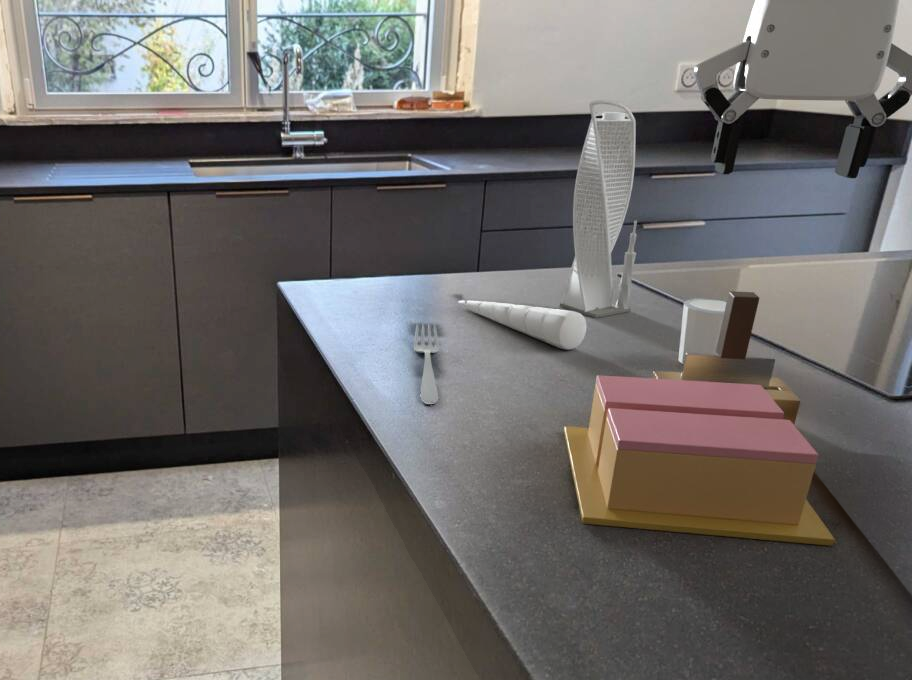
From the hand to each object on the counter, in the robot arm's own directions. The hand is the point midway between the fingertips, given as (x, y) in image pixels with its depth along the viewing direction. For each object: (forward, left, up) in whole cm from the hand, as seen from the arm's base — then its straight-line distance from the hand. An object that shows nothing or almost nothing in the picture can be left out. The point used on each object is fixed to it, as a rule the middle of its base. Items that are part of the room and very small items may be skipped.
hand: (783, 174), depth 70 cm
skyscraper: (+8, -43, -24) cm, 50 cm away
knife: (0, -2, -24) cm, 24 cm away
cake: (+6, +12, -24) cm, 28 cm away
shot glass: (-3, -21, -24) cm, 32 cm away
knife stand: (0, -2, -24) cm, 24 cm away
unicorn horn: (+19, -31, -24) cm, 44 cm away
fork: (+30, -13, -24) cm, 40 cm away
